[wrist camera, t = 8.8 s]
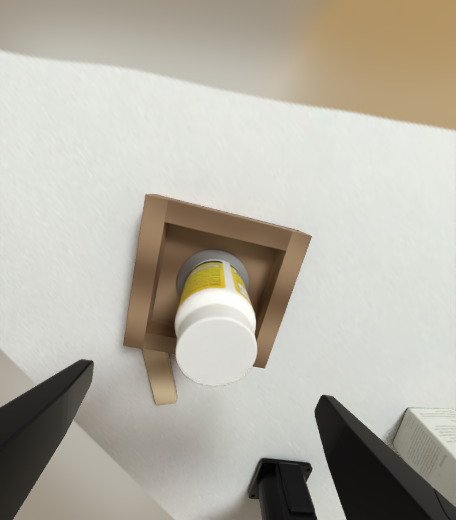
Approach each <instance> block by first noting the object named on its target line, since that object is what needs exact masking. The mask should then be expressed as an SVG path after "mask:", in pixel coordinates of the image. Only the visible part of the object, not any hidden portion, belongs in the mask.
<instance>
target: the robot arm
mask: <svg viewBox="0 0 456 520" xmlns="http://www.w3.org/2000/svg"><path fill="white" fill-rule="evenodd" d="M93 367H94V363H93V361H92V360H85V359H81V360H79V361H77V362H75V363H74V364H72V365H70V366H69V367H67V368H65V369H64V370H62V371H60V372H59V373H57V374H55V375H54V376H52V377H50V378H49V379H47V380H45V381H44V382H42V383H40V384H39V385H37V386H35V387H34V388H32V389H30V390H29V391H27V392H25V393H24V394H22V395H20V396H19V397H17V398H15V399H14V400H12V401H10V402H9V403H7V404H5V405H4V406H2V407H0V520H13V519H14V517H15V515H16V514H17V512H18V510H19V509H20V507H21V506H22V504H23V502H24V500H25V499H26V498H27V496H28V494H29V493H30V491H31V489H32V488H33V486H34V485H35V483H36V481H37V480H38V478H39V476H40V475H41V473H42V472H43V470H44V468H45V467H46V465H47V464H48V462H49V460H50V459H51V457H52V456H53V454H54V452H55V451H56V449H57V447H58V446H59V444H60V443H61V441H62V439H63V438H64V436H65V434H66V432H67V430H68V428H69V426H70V425H71V423H72V421H73V419H74V417H75V415H76V413H77V411H78V409H79V407H80V405H81V403H82V401H83V399H84V397H85V395H86V393H87V391H88V389H89V387H90V384H91V382H92V376H93ZM315 418H316V422H317V426H318V430H319V434H320V438H321V442H322V445H323V449H324V453H325V457H326V460H327V463H328V467H329V470H330V473H331V475H332V478H333V481H334V484H335V487H336V490H337V493H338V496H339V499H340V502H341V505H342V508H343V510H344V513H345V516H346V519H347V520H456V507H455V506H454V505H453V504H452V503H450V502H449V501H448V500H447V499H446V498H445V497H444V496H443V495H442V494H441V493H439V492H438V491H437V490H436V489H435V488H432V486H431V485H430V484H429V483H428V482H427V481H426V480H425V479H424V478H423V477H422V476H421V475H419V474H418V473H417V472H416V471H415V470H414V469H413V468H412V467H411V466H409V465H408V464H407V463H406V462H405V461H404V460H403V459H402V458H401V457H399V456H398V455H397V454H396V453H395V452H394V451H393V450H392V449H391V448H389V447H388V446H387V445H386V444H385V443H384V442H383V441H382V440H381V439H379V438H378V437H377V436H376V435H375V434H374V433H373V432H372V431H371V430H370V429H368V428H367V427H366V426H365V425H364V424H363V423H362V422H361V421H360V420H358V419H357V418H356V417H355V416H354V415H353V414H352V413H351V412H350V411H348V410H347V409H346V408H345V407H344V406H343V405H342V404H341V403H340V402H338V401H337V400H336V399H335V398H334V397H333V396H329V395H322V396H321V397H320V399H319V402H318V404H317V406H316V408H315ZM311 472H312V467H311V464H310V463H303V462H293V461H284V460H274V459H262V460H261V462H260V464H259V467H258V469H257V472H256V474H255V477H254V479H253V482H252V484H251V486H250V489H249V491H248V495H249V498H250V499H259V502H260V508H261V515H262V520H317V517H316V514H315V508H314V505H313V502H312V499H311V496H310V493H309V490H308V487H307V484H306V482H307V480H308V478H309V476H310V474H311Z"/></svg>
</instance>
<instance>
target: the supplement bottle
mask: <svg viewBox="0 0 456 520" xmlns="http://www.w3.org/2000/svg"><path fill="white" fill-rule="evenodd" d="M255 329H256V318H255V313H254V310H253V307H252V305H251V302H250V299H249V296H248V294H247V291H246V288H245V285H244V283H243V280H242V277H241V275H240V273H239V272H238V270H237V269H236V268H235V267H234V266H233V265H232V264H230V263H228V262H226V261H223V260H217V259H210V260H205V261H203V262H201V263H199V264H197V265H196V266H195V267H194V268H193V269H192V270H191V271H190V273H189V274H188V276H187V279H186V282H185V286H184V289H183V293H182V296H181V300H180V303H179V307H178V310H177V313H176V318H175V332H176V336H177V344H176V360H177V363H178V366H179V368H180V369H181V371H182V372H183V373H184V374H185V375H186V376H187V377H188V378H189V379H191V380H192V381H194V382H197V383H199V384H202V385H206V386H222V385H227V384H230V383H233V382H235V381H237V380H239V379H241V378H242V377H243V376H244V375H246V374H247V373H248V372H249V370H250V369H251V368H252V366H253V364H254V362H255V359H256V356H257V343H256V339H255V335H254V333H255Z"/></svg>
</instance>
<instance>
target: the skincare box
mask: <svg viewBox="0 0 456 520" xmlns="http://www.w3.org/2000/svg"><path fill="white" fill-rule="evenodd" d="M393 445H394V447H395V448H396V450H397V451H398V452H399V454H400V455H401V457H402V458H403V459H404V461H405V462H406V463H407V464H408V465H409V466H411V467H412V468H413V469H414V470H415V471H416V472H417V473H418V474H419V475H421V476H422V477H423V478H424V479H425V480H426V481H427V482H428V483H429V484H430V485H431V486H432V488H435V489H436V490H437V491H438V492H439V493H441V494H442V495H443V496H444V497H445V498H446V499H447V500H448V501H449V502H450V503H452V504H453V505H454V506H455V507H456V412H455V411H454V410H453V409H452V408H408V409H407V411H406V413H405V415H404V418H403V420H402V423H401V425H400V427H399V430H398V432H397V434H396V437H395V439H394V442H393Z"/></svg>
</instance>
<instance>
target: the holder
mask: <svg viewBox="0 0 456 520" xmlns="http://www.w3.org/2000/svg"><path fill="white" fill-rule="evenodd" d="M311 237H312V236H310V235H308V234H306V233H303V232H301V231H298V230H295V229H291V228H287V227H283V226H279V225H275V224H271V223H267V222H263V221H259V220H255V219H251V218H248V217H244V216H240V215H236V214H232V213H228V212H224V211H220V210H216V209H212V208H208V207H204V206H200V205H196V204H192V203H188V202H184V201H180V200H176V199H172V198H168V197H165V196H161V195H157V194H145V201H144V207H143V214H142V221H141V228H140V235H139V242H138V249H137V255H136V262H135V269H134V276H133V283H132V290H131V297H130V303H129V310H128V317H127V324H126V331H125V338H124V344H123V346H129V347H135V348H141V349H148V350H154V351H160V352H166V353H172V354H176V344H177V336H176V332H175V318H176V313H177V310H178V307H179V303H180V300H181V296H182V293H183V289H184V286H185V282H186V279H187V276H188V274H189V273H190V271H191V270H192V269H193V268H194V267H195V266H196V265H197V264H199V263H201V262H203V261H205V260H210V259H217V260H223V261H226V262H228V263H230V264H232V265H233V266H234V267H235V268H236V269H237V270H238V272H239V273H240V275H241V277H242V280H243V283H244V285H245V288H246V291H247V294H248V296H249V299H250V302H251V305H252V307H253V310H254V313H255V318H256V329H255V333H254V335H255V339H256V343H257V356H256V359H255V362H254V364H253V367H259V368H265V366H266V364H267V361H268V358H269V355H270V352H271V350H272V347H273V344H274V341H275V338H276V336H277V333H278V330H279V327H280V324H281V322H282V319H283V316H284V313H285V310H286V308H287V305H288V302H289V299H290V296H291V293H292V291H293V288H294V285H295V282H296V279H297V277H298V274H299V271H300V268H301V265H302V263H303V260H304V257H305V254H306V251H307V249H308V246H309V243H310V240H311Z"/></svg>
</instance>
